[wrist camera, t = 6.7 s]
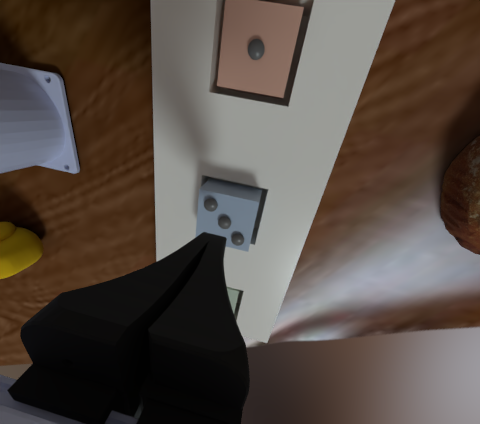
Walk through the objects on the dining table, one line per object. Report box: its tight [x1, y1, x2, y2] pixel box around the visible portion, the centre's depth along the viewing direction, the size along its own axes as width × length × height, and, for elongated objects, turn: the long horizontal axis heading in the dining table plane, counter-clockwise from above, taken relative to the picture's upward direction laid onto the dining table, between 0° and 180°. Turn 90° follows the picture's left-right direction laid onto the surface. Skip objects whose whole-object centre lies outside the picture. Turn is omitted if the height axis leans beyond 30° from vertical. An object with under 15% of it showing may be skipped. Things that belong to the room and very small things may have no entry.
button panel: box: [151, 0, 395, 343], centre depth 17 cm, size 12×28×3 cm, turn 171°
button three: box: [195, 178, 262, 252], centre depth 16 cm, size 4×4×3 cm
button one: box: [217, 0, 304, 99], centre depth 13 cm, size 4×4×3 cm
